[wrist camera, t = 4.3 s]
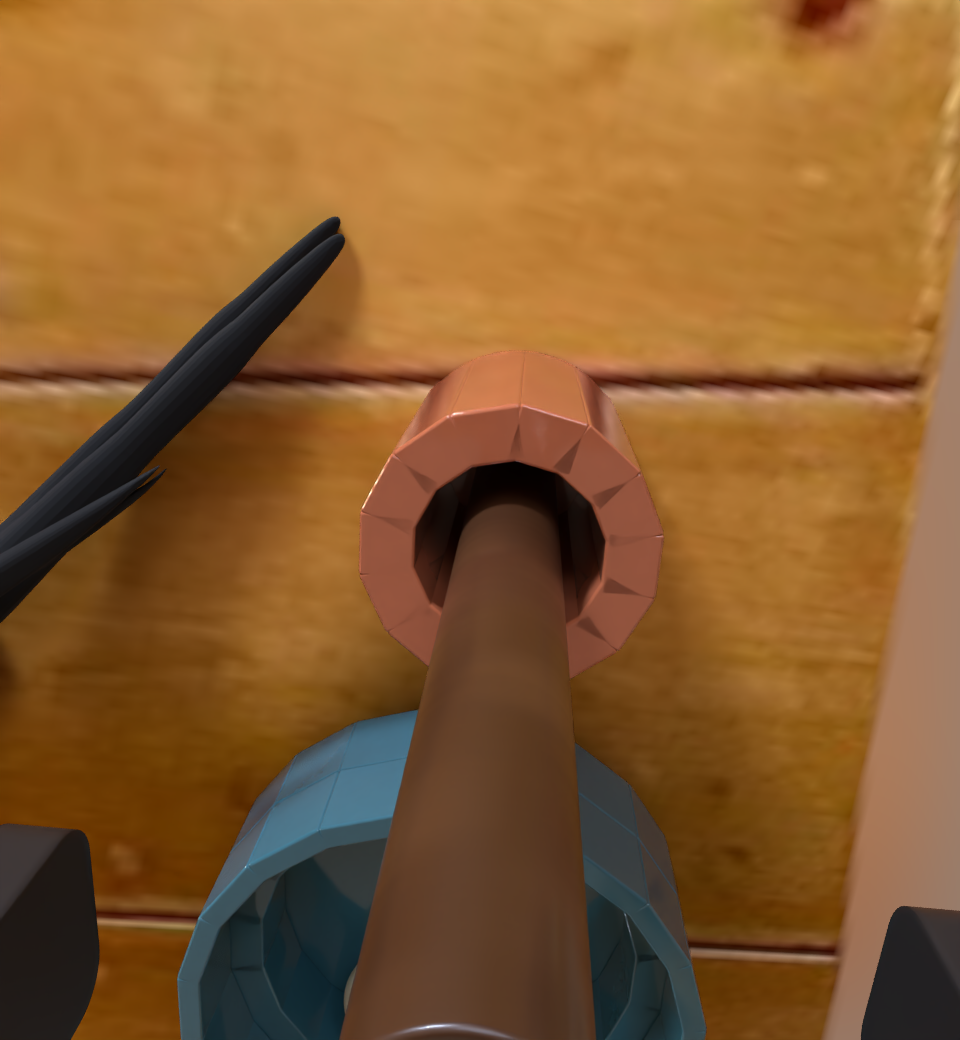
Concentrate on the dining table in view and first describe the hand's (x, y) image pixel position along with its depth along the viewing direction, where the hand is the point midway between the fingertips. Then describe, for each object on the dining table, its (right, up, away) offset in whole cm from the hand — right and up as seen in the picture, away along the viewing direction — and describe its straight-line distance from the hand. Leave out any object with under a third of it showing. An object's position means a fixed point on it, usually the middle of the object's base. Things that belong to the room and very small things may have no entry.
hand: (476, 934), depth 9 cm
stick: (+1, +6, +17) cm, 18 cm away
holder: (+1, +6, +17) cm, 18 cm away
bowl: (-1, -9, +23) cm, 24 cm away
